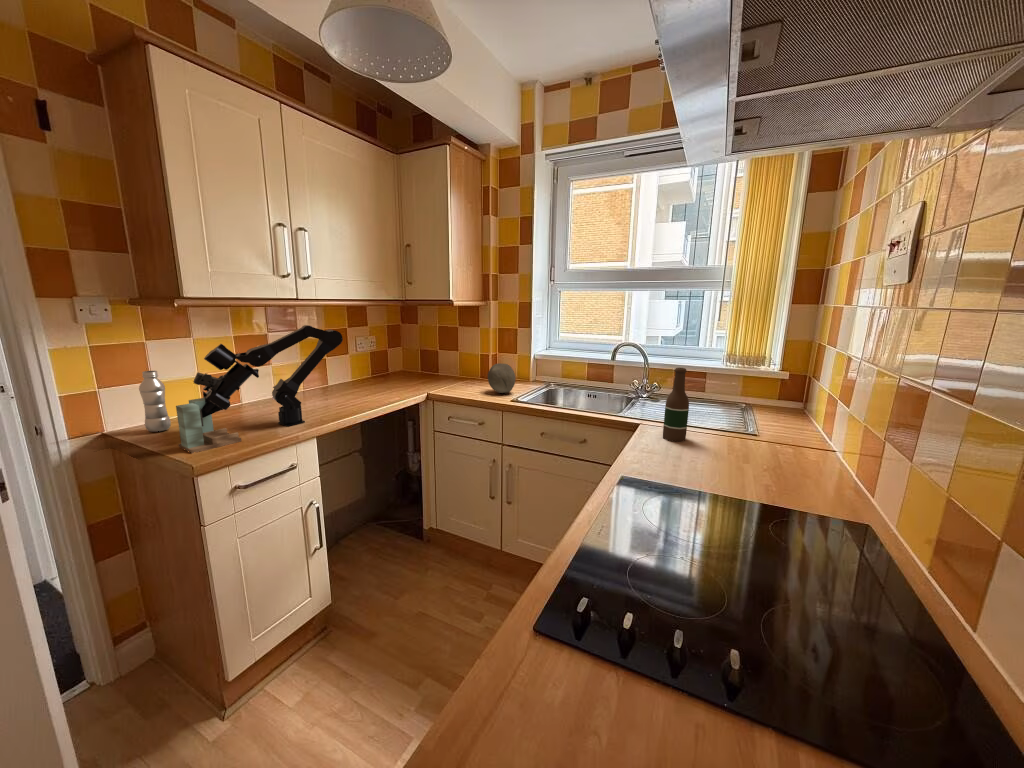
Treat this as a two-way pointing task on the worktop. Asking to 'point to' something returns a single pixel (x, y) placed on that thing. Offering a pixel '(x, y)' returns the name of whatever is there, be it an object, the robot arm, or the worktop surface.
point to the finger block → (206, 420)
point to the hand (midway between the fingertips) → (195, 417)
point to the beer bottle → (676, 410)
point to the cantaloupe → (501, 378)
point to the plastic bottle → (154, 402)
